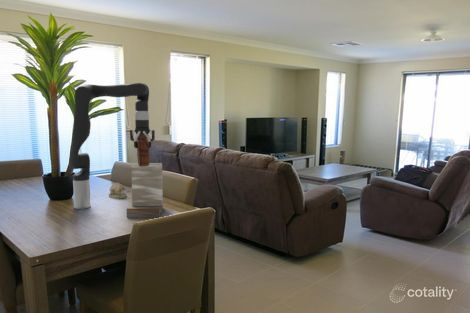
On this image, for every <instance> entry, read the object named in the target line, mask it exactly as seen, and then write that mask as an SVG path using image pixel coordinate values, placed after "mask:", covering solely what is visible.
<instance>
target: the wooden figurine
mask: <svg viewBox="0 0 470 313" xmlns="http://www.w3.org/2000/svg"><path fill="white" fill-rule="evenodd" d="M148 142H149V141H148V139H147V136H146V135H144V134H140V135H139V136H138V138H137V148H136V151H137V154H136V155H137V163H138V165H139V166H149V163H150V148H148Z"/></svg>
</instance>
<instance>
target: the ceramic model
mask: <svg viewBox="0 0 470 313" xmlns="http://www.w3.org/2000/svg"><path fill="white" fill-rule="evenodd" d="M108 190H109V191H110V193H108V198H111V199H115V200H117V199H118V200H120V199H125V198H127V197H128V195H127V193H125V191H126V188H125V187H124V185H122V184H121V183H119V182H118V181H117V182H114V183H113V184H112V185H111V186H110V188H109V189H108Z"/></svg>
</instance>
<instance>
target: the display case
mask: <svg viewBox="0 0 470 313" xmlns="http://www.w3.org/2000/svg"><path fill="white" fill-rule="evenodd" d="M130 164H131V165H130V166H131V168H130V170H131V171H130V172H131V196H132V197H131V205H132V206H131V207H126V218H160V216H161V214H162V211H163V209H162V208H164V207H163V206H164V205H163V203H164V202H163V201H164V198H163V197H164V196H163V192H164V191H163V189H164V188H163V163H161V162H159V163H158V162H155V163H154V162H149V166H139V165H138V162H131V163H130ZM160 213H161V214H160Z"/></svg>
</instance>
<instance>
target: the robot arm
mask: <svg viewBox="0 0 470 313" xmlns="http://www.w3.org/2000/svg"><path fill="white" fill-rule="evenodd" d="M136 96H137V97H136ZM102 97H110V98H128V97H129V98H130V97H136V101H135V103H134V106H135V111H134V112H135V114H134V119H135V120H134V121H135V122H134V125H135V129H130V130H129V138H130V141H132V142H133V147H134V148H135V149H137V138H138V136H139V135H140V134H144V135H146V136H147V139H148V148H149V149H151V147H152V142H153V141H155V138H156V136H155V135H156V130H155V129H152V130H151V129H150V113H149V98H150V88H149V86H148V85H147V84H145V83H142V82H135V83H128V84H127V83H125V84H124V83H122V84H110V85H109V84H108V85H106V84H105V85H101V84H100V85H98V84H90V83H89V84H88V83H83V84H80V85H79V86H77V88H76V89H75V91H74V117H73V125H72V137H71V138H72V139H71V146H70V153H69V158H68V163H69V168H70V169H71V170H79V169H80V170H79V171H78V172H76V173H74V174H73V175H72V186H73V188H72V189H73V206H74V209H77V210H78V209H79V210H81V209H84V210H85V209H89V208H91V206H92V205H91V186H90V185H91V184H90V182H91V181H90V176H91V171H90V170H91V167H90V166H91V159H90V155H89V153H87V152H80V149H81V147H82V146H83V145H84V144H85V142H86V141H87V139H88V138H89V136H90V134H91V126H92V125H91V119H90V114H89V108H90V103H91V101H92V100H93V99H96V98H102ZM149 133H150V134H151V136H150V135H149ZM134 134H136V135H135V136H134Z"/></svg>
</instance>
